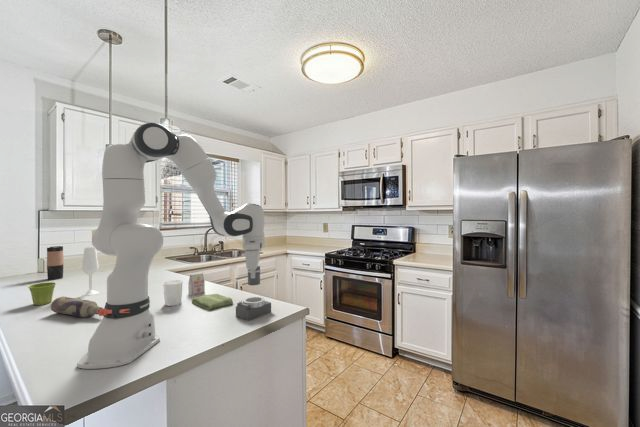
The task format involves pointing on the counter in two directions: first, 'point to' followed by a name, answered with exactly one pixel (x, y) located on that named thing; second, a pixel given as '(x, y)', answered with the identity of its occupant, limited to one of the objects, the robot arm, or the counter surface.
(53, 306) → the decorative bottle
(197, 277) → the white food carton
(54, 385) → the counter surface
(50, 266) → the travel mug
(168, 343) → the counter surface
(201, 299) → the washcloth
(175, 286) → the white cup
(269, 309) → the camera body
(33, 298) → the plant pot
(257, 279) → the lens
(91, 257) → the champagne flute
